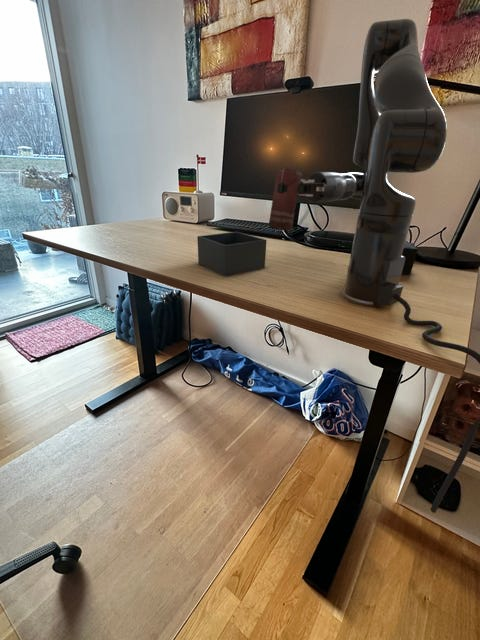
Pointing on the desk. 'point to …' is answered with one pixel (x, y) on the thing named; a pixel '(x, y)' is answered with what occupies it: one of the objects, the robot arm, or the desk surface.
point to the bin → (231, 252)
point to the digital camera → (409, 257)
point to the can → (285, 200)
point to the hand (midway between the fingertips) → (279, 188)
